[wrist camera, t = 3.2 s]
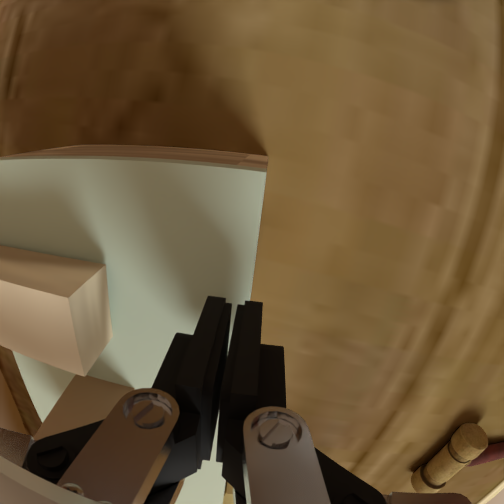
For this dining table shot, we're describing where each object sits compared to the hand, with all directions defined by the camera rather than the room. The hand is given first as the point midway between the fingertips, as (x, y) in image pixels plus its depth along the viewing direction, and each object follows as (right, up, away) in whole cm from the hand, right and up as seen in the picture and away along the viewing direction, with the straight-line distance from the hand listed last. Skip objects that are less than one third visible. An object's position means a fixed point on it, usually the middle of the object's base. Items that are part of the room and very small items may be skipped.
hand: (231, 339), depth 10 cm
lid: (-6, -5, +5) cm, 9 cm away
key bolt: (-9, +1, +1) cm, 9 cm away
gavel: (+31, -23, +18) cm, 43 cm away
